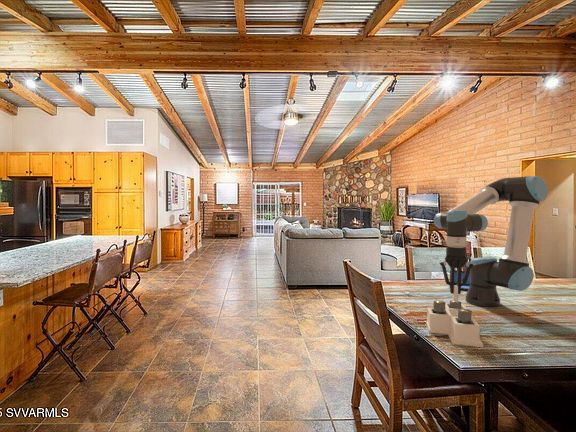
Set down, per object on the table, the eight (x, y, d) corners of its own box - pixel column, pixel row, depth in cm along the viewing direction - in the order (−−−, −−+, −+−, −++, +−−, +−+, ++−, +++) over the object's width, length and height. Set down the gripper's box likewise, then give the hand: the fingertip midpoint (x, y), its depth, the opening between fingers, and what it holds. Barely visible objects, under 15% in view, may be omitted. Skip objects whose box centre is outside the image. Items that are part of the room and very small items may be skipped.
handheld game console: (449, 289, 186) (449, 274, 186) (449, 284, 198) (449, 269, 198) (480, 293, 179) (480, 276, 178) (478, 287, 191) (478, 272, 190)
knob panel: (465, 320, 139) (465, 303, 138) (483, 347, 113) (483, 327, 112) (424, 316, 144) (424, 300, 143) (432, 341, 118) (432, 322, 118)
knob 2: (469, 324, 120) (470, 308, 120) (472, 329, 116) (473, 312, 116) (456, 323, 122) (457, 307, 121) (459, 327, 117) (459, 311, 117)
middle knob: (444, 315, 131) (444, 300, 130) (446, 318, 126) (446, 303, 126) (432, 314, 132) (432, 299, 132) (434, 317, 128) (434, 302, 127)
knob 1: (459, 314, 137) (460, 300, 136) (462, 318, 132) (462, 303, 132) (448, 313, 138) (448, 299, 138) (450, 317, 134) (450, 302, 133)
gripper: (440, 246, 132) (439, 302, 133) (476, 248, 128) (474, 305, 129) (438, 244, 139) (437, 297, 140) (471, 245, 135) (470, 299, 136)
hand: (455, 301), depth 135 cm, fingers closed
